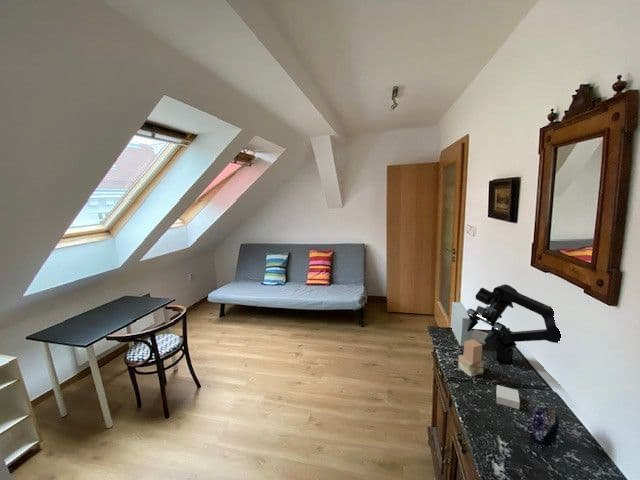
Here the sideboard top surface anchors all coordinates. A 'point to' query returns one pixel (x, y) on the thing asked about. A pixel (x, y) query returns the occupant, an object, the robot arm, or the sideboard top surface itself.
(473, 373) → the tower base
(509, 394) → the block
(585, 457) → the sideboard top surface
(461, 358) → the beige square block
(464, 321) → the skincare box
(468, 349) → the terracotta block
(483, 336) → the external hard drive
